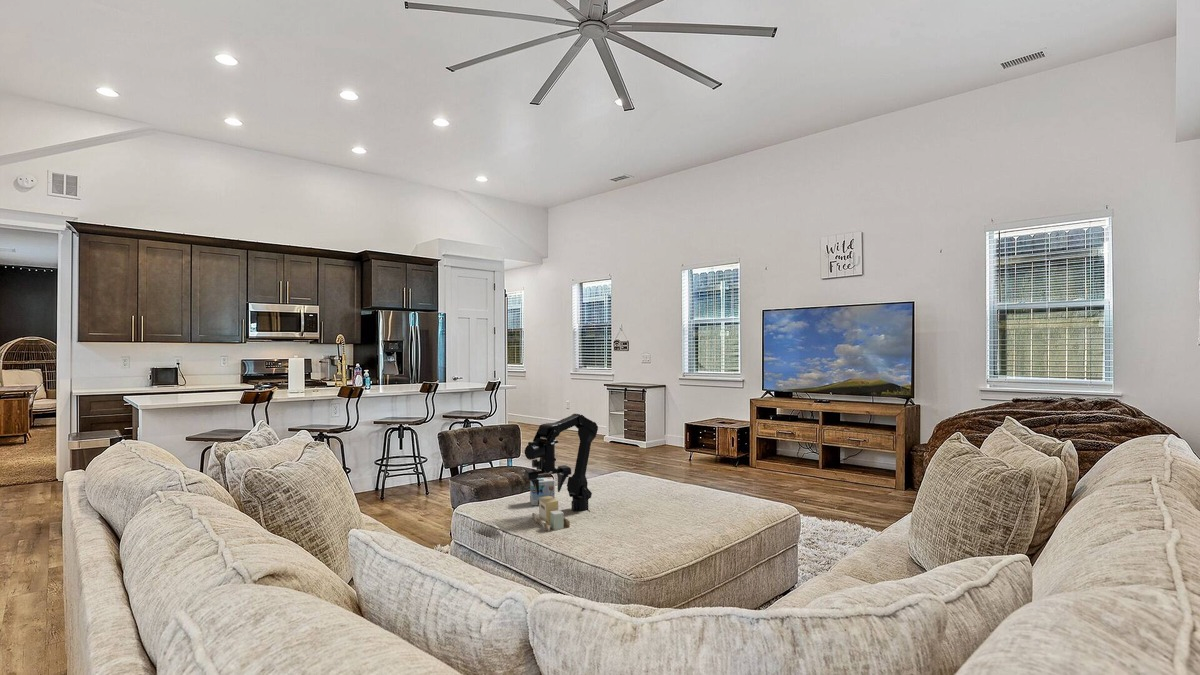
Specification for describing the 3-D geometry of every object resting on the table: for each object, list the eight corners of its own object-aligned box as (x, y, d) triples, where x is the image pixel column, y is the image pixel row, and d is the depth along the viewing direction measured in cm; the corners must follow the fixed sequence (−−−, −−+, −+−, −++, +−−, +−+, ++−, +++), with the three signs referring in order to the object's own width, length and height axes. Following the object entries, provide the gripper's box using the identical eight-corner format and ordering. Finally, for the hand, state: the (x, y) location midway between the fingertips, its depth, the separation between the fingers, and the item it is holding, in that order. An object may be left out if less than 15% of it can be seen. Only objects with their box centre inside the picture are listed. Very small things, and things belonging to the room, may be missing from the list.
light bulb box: (532, 506, 267) (531, 482, 267) (529, 501, 273) (529, 478, 273) (555, 504, 270) (555, 480, 269) (552, 499, 276) (552, 476, 276)
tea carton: (558, 523, 240) (558, 501, 240) (546, 525, 238) (546, 502, 238) (550, 517, 248) (550, 495, 248) (539, 519, 246) (538, 497, 245)
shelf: (569, 529, 235) (569, 521, 235) (547, 533, 231) (547, 524, 231) (552, 516, 251) (552, 508, 251) (531, 520, 247) (531, 512, 247)
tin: (559, 525, 238) (559, 509, 237) (563, 528, 234) (563, 512, 234) (550, 527, 236) (550, 511, 236) (554, 530, 232) (554, 514, 232)
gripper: (561, 449, 254) (561, 485, 254) (519, 454, 246) (520, 491, 246) (571, 454, 244) (572, 492, 244) (528, 459, 236) (529, 498, 236)
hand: (548, 493), depth 243 cm, fingers open, 9 cm apart
